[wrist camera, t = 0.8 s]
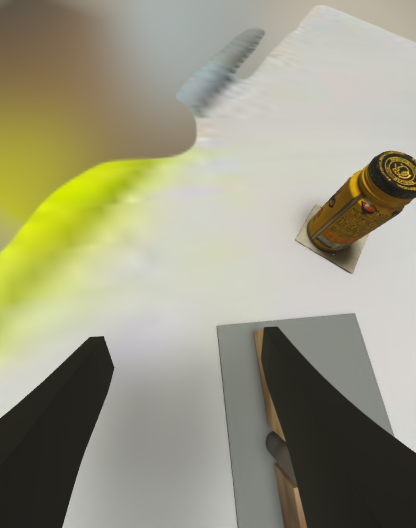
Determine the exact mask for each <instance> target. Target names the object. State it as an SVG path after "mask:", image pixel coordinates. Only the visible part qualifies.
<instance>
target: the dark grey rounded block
mask: <svg viewBox="0 0 416 528" xmlns="http://www.w3.org/2000/svg"><path fill="white" fill-rule="evenodd" d="M266 447H267V450H268V451H269V453H270V454H271V455H272V456H273V457H274V459H275V460H276V461H277V463H274V467H275V473H276V480H277V486H278V492H279V499H280V505H281V511H282V518H283V524H284V528H307V525H306V520H305V516H304V512H303V508H302V503H301V499H300V495H299V491H298V487H297V482H296V478H295V474H294V470H293V466H292V462H291V459H290V455H289V451H288V447H287V444H286V442H285V441H284V440H283V439H282V438H281V437H280V436H279V435H278V434H276V433H275V432H274V431H272V432H270V433H269V434H268V435H267V438H266Z"/></svg>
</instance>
